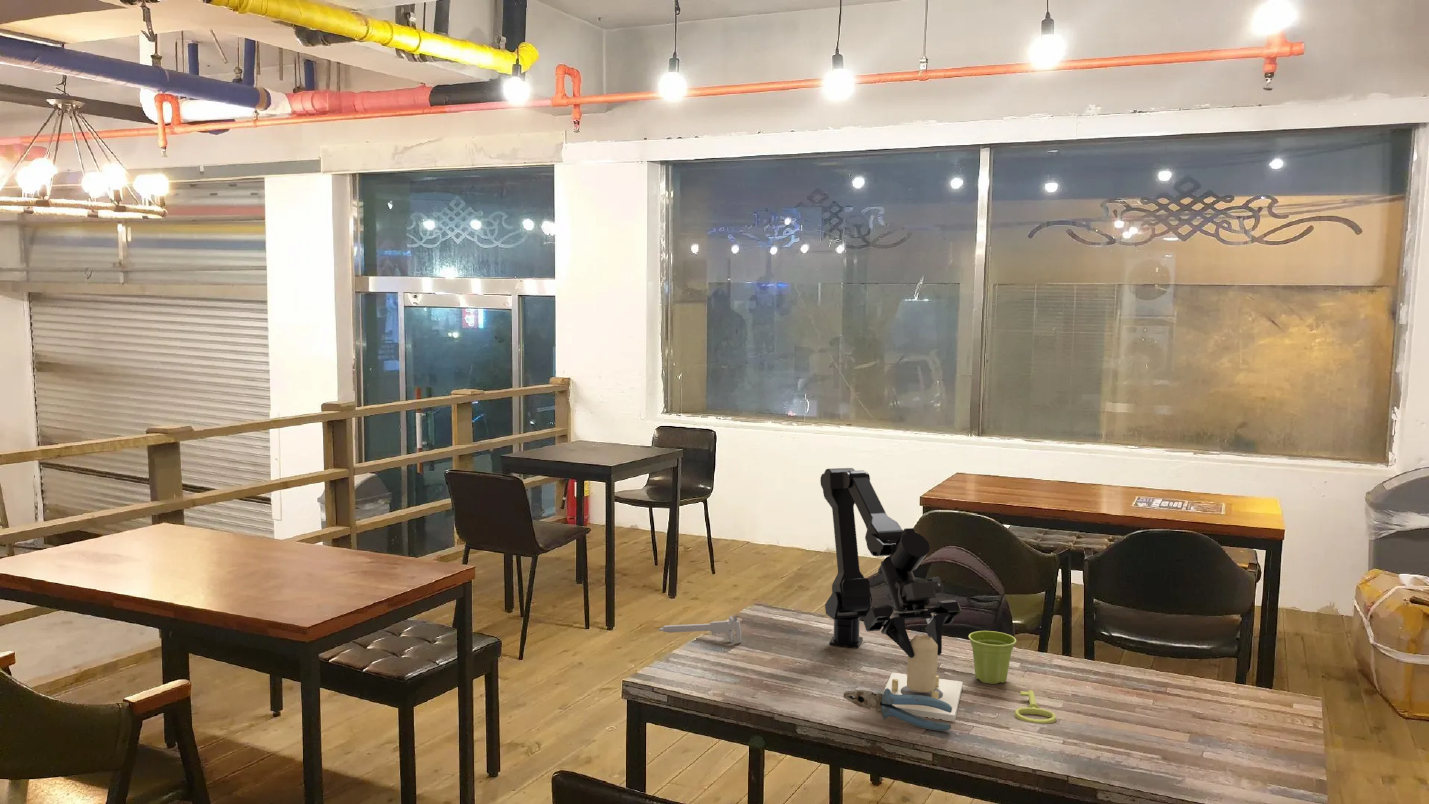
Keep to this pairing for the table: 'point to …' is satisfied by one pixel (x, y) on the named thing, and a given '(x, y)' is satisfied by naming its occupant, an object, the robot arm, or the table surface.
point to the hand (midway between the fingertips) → (926, 655)
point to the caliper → (710, 628)
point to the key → (1033, 710)
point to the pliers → (887, 709)
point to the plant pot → (991, 655)
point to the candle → (922, 664)
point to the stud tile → (943, 691)
